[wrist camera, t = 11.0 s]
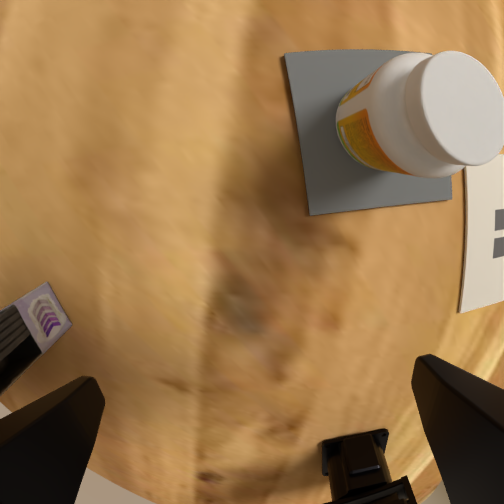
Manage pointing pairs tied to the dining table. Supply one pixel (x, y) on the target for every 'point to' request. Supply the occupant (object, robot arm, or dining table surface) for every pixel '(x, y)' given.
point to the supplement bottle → (423, 115)
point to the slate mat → (328, 143)
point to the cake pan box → (29, 332)
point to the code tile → (483, 236)
